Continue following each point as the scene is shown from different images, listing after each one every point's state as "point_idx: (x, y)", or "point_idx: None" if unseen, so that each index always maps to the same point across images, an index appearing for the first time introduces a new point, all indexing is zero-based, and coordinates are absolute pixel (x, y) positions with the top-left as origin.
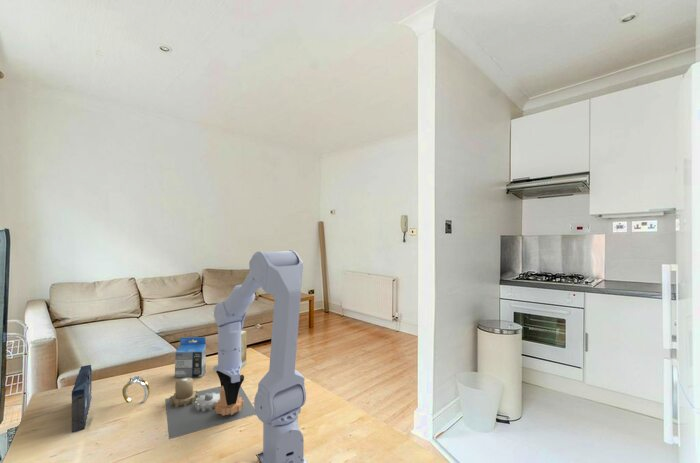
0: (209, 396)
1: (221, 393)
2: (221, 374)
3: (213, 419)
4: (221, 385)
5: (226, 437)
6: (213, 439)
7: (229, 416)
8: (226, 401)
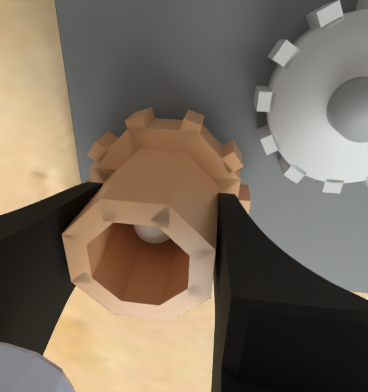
0: (340, 112)
1: (109, 187)
2: (226, 316)
3: (134, 84)
4: (222, 227)
5: (6, 110)
6: (7, 51)
7: None
8: (75, 187)
